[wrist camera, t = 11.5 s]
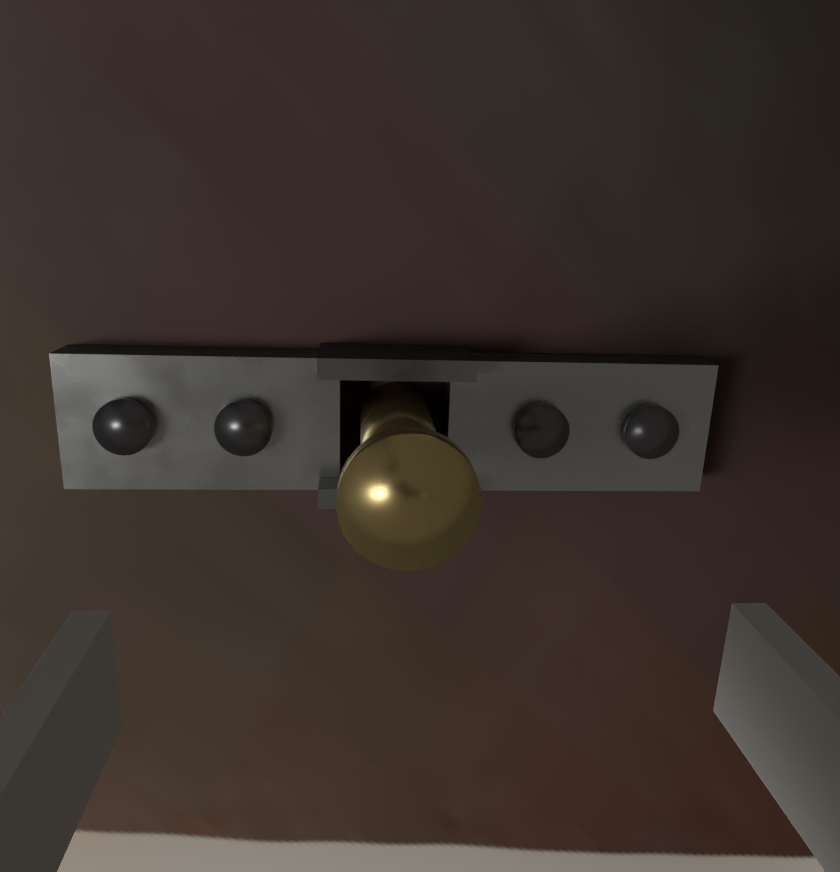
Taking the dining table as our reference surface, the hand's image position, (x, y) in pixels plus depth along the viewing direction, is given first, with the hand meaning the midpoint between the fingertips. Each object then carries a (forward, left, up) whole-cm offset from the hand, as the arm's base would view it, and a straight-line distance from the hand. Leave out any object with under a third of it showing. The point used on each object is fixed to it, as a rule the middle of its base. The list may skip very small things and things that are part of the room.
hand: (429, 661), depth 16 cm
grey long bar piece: (0, 0, -20) cm, 20 cm away
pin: (0, 0, -20) cm, 20 cm away
